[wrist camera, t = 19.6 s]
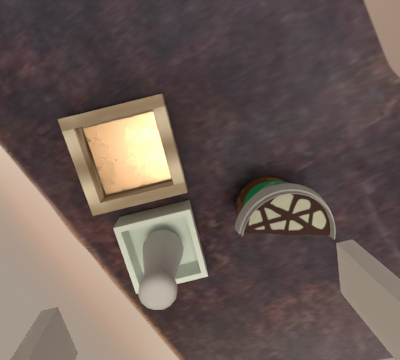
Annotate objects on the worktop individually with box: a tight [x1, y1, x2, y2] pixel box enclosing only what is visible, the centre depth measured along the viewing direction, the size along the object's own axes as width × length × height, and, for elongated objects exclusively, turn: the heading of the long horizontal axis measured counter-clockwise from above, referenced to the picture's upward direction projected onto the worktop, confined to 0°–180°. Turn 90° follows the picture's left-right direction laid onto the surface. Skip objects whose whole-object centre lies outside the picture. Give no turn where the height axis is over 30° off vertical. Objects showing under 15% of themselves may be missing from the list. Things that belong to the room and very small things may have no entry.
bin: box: [113, 200, 208, 294], centre depth 43 cm, size 11×11×4 cm
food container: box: [235, 176, 336, 240], centre depth 39 cm, size 12×6×10 cm, turn 86°
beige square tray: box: [58, 94, 188, 216], centre depth 39 cm, size 13×13×4 cm
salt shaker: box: [138, 229, 184, 310], centre depth 38 cm, size 6×6×13 cm
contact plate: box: [84, 111, 172, 195], centre depth 40 cm, size 9×9×1 cm
